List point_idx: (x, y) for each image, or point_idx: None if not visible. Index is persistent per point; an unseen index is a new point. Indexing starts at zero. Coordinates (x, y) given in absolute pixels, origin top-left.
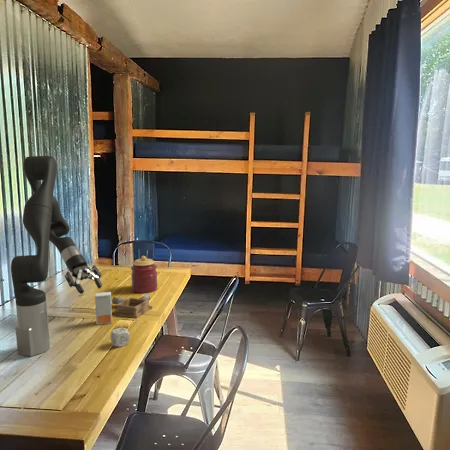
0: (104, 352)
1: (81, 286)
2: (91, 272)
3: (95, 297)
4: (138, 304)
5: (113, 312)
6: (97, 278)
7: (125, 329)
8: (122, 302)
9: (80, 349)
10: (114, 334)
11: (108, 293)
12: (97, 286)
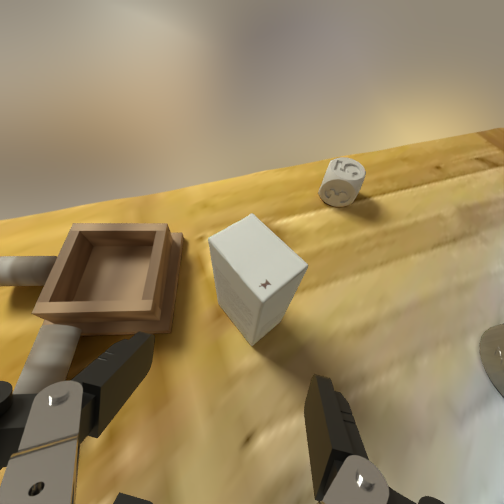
0: (383, 200)
1: (326, 411)
2: (26, 499)
3: (306, 267)
4: (78, 271)
5: (169, 326)
6: (81, 388)
7: (335, 161)
8: (111, 302)
9: (414, 251)
10: (365, 172)
11: (238, 230)
12: (137, 385)
